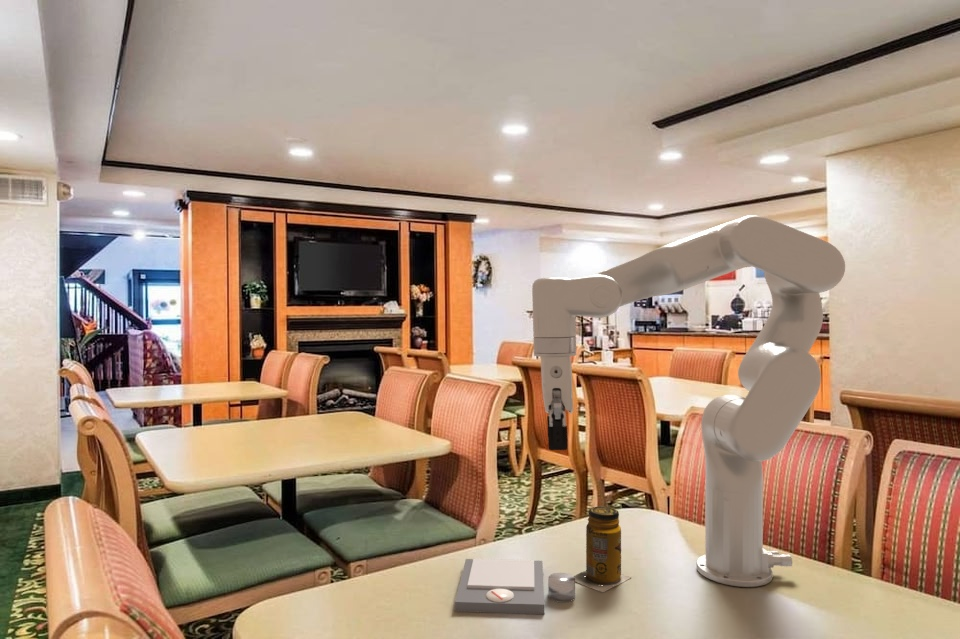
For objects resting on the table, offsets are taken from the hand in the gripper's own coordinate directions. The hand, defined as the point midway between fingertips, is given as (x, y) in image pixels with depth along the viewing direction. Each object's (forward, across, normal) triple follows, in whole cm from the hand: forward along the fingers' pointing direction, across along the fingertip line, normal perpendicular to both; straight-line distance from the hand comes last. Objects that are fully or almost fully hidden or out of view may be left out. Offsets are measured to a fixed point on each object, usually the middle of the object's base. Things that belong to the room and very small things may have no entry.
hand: (557, 443), depth 112 cm
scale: (+23, -7, +10) cm, 26 cm away
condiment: (+24, -1, -7) cm, 25 cm away
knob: (+24, -8, 0) cm, 25 cm away
